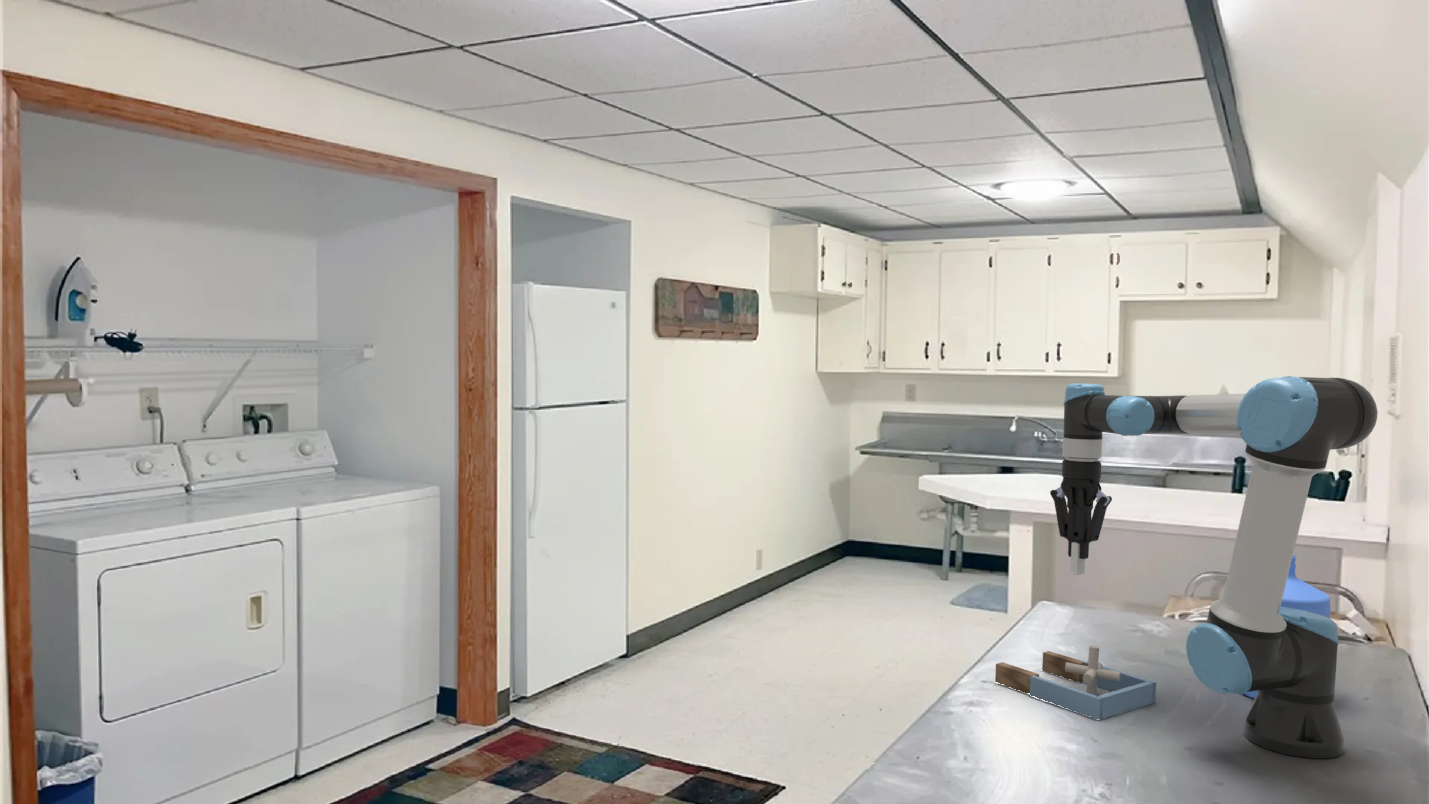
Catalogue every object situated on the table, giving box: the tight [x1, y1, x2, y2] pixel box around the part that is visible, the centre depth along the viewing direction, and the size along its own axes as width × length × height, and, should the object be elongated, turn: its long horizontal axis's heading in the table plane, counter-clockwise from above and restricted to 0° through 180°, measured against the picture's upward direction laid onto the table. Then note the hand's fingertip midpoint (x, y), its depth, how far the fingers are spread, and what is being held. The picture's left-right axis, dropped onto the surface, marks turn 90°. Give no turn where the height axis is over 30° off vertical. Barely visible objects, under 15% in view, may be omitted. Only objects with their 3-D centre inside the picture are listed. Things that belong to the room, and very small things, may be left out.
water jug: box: [1243, 554, 1331, 700], centre depth 206 cm, size 16×16×28 cm
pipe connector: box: [1065, 645, 1122, 696], centre depth 202 cm, size 10×10×10 cm
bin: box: [1029, 661, 1158, 720], centre depth 201 cm, size 15×18×4 cm
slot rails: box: [994, 650, 1086, 694], centre depth 211 cm, size 9×17×4 cm, turn 125°
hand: (1077, 573), depth 213 cm, fingers closed
